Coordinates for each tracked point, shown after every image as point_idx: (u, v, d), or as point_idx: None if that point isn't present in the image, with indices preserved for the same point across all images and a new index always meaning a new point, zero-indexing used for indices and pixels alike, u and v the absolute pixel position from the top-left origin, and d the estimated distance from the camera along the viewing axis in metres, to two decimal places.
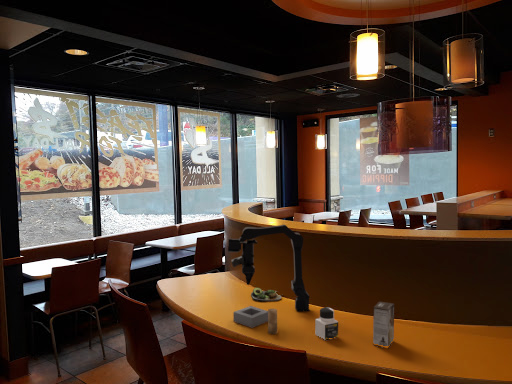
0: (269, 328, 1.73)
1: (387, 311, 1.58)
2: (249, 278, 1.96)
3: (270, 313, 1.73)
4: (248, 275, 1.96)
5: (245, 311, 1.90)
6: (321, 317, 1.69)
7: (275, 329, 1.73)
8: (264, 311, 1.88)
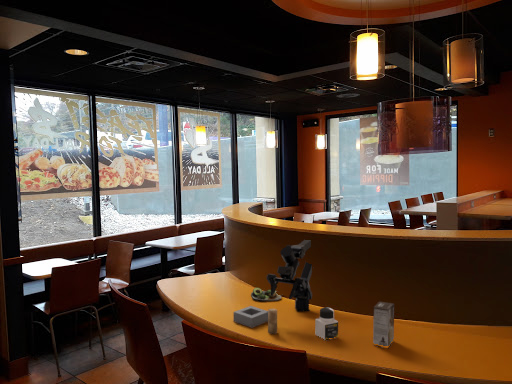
0: (269, 328, 1.73)
1: (387, 311, 1.58)
2: (294, 293, 1.81)
3: (270, 313, 1.73)
4: (295, 289, 1.81)
5: (245, 311, 1.90)
6: (321, 317, 1.69)
7: (275, 329, 1.73)
8: (264, 311, 1.88)
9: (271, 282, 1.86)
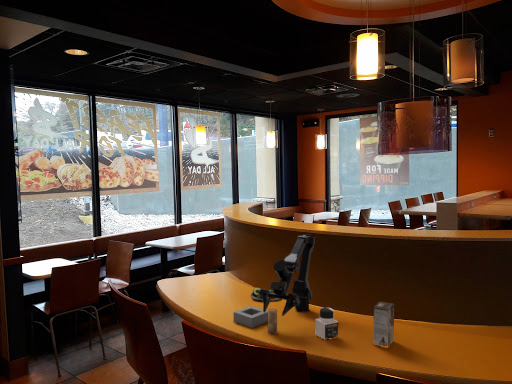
0: (269, 328, 1.73)
1: (387, 311, 1.58)
2: (287, 309, 1.74)
3: (270, 313, 1.73)
4: (288, 306, 1.75)
5: (245, 311, 1.90)
6: (321, 317, 1.69)
7: (275, 329, 1.73)
8: None
9: (264, 297, 1.80)
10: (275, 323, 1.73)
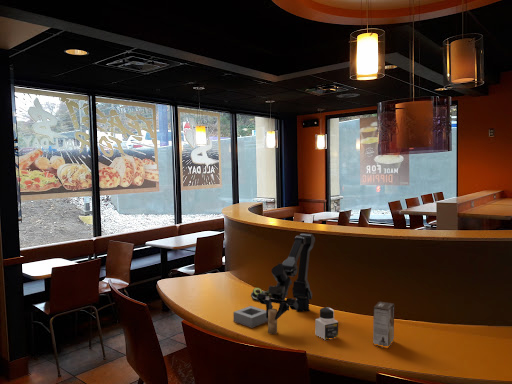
0: (269, 328, 1.73)
1: (387, 311, 1.58)
2: (281, 313, 1.74)
3: (270, 313, 1.73)
4: (281, 309, 1.74)
5: (245, 311, 1.90)
6: (321, 317, 1.69)
7: (275, 329, 1.73)
8: (264, 311, 1.88)
9: (266, 303, 1.77)
10: (275, 323, 1.73)
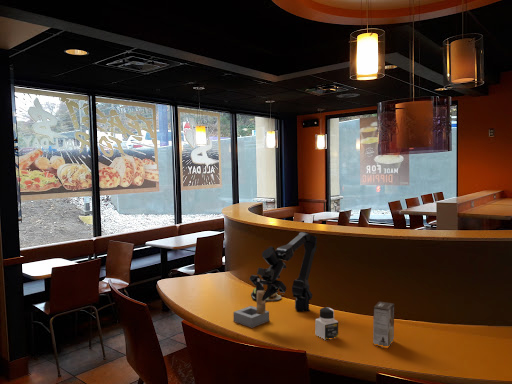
0: (257, 308, 1.79)
1: (387, 311, 1.58)
2: (268, 294, 1.78)
3: (258, 294, 1.78)
4: (269, 291, 1.79)
5: (245, 311, 1.90)
6: (321, 317, 1.69)
7: (262, 310, 1.78)
8: None
9: (257, 284, 1.83)
10: (262, 304, 1.78)
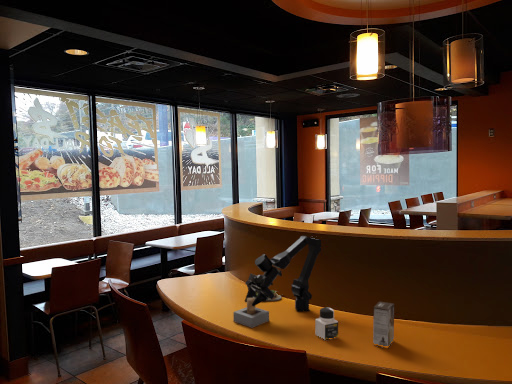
0: None
1: (387, 311, 1.58)
2: (259, 301, 1.85)
3: (247, 301, 1.87)
4: (260, 297, 1.85)
5: (245, 311, 1.90)
6: (321, 317, 1.69)
7: None
8: (264, 311, 1.88)
9: (248, 289, 1.92)
10: (251, 311, 1.86)
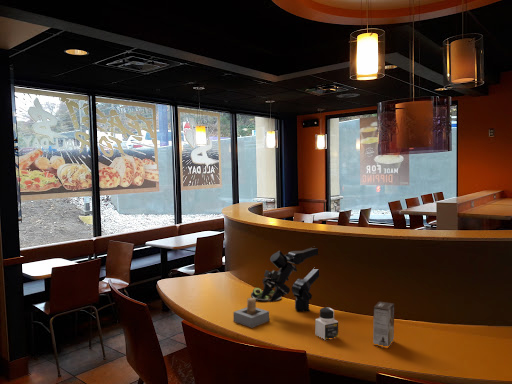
0: None
1: (387, 311, 1.58)
2: (276, 296, 1.88)
3: (247, 301, 1.87)
4: (277, 293, 1.89)
5: (245, 311, 1.90)
6: (321, 317, 1.69)
7: None
8: (264, 311, 1.88)
9: (264, 285, 1.99)
10: (252, 311, 1.86)
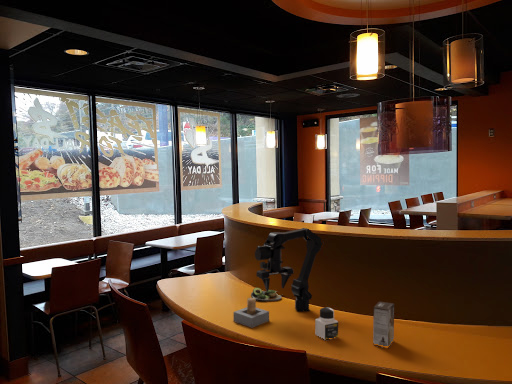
0: None
1: (387, 311, 1.58)
2: (266, 284, 1.91)
3: (247, 301, 1.87)
4: (265, 281, 1.92)
5: (245, 311, 1.90)
6: (321, 317, 1.69)
7: None
8: (264, 311, 1.88)
9: None
10: (252, 311, 1.86)
